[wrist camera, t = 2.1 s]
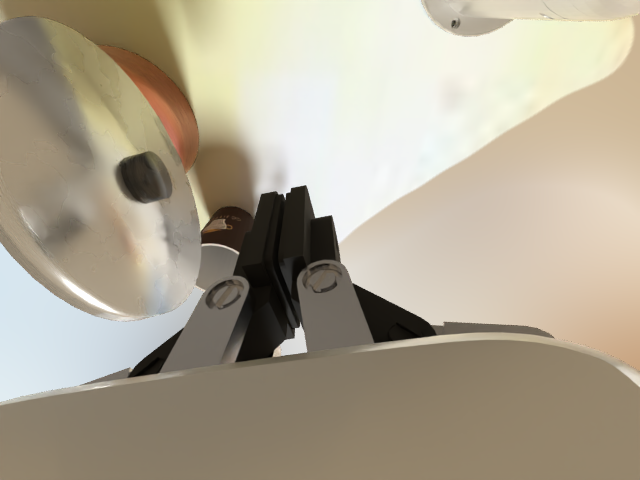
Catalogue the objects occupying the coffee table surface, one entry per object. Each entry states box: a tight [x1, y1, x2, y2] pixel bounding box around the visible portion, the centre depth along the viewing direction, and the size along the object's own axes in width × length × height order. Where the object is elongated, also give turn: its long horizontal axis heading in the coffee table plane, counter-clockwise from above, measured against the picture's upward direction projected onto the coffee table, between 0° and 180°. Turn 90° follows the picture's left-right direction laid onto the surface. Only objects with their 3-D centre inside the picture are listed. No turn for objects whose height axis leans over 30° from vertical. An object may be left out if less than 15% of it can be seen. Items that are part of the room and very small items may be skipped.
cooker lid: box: [0, 16, 201, 321], centre depth 19 cm, size 17×17×3 cm
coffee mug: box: [195, 207, 254, 291], centre depth 41 cm, size 12×9×10 cm
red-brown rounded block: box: [97, 45, 199, 173], centre depth 31 cm, size 16×16×11 cm
